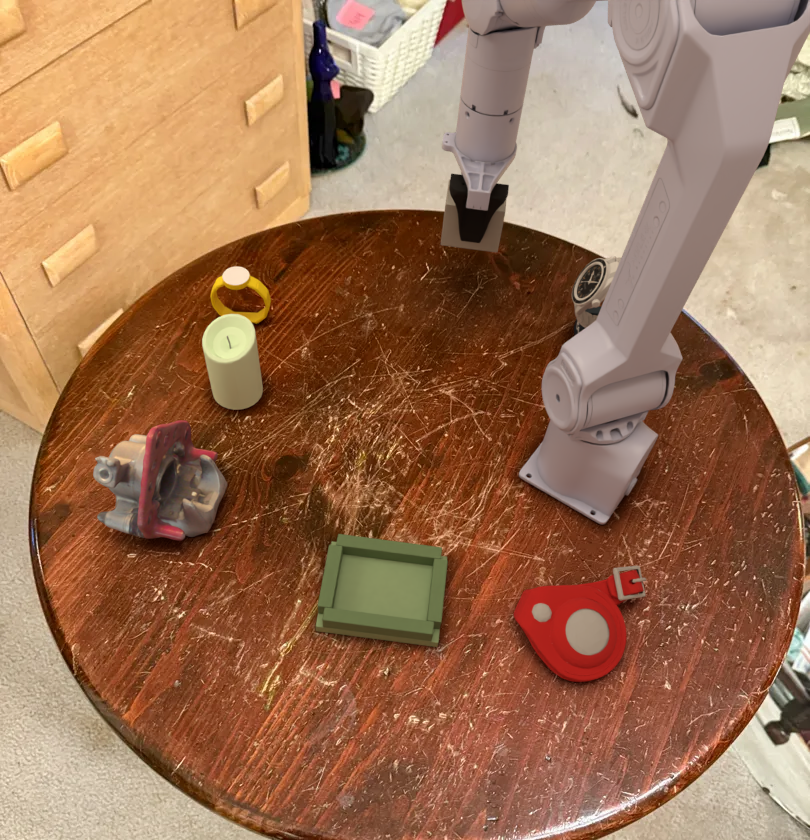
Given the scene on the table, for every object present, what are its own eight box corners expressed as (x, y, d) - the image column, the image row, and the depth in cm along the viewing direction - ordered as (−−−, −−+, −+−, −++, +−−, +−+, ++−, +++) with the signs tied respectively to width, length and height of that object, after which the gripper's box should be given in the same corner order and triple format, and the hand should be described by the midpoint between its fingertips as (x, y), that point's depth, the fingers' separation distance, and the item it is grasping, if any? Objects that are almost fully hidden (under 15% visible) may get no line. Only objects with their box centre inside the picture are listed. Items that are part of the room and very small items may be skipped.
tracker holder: (616, 700, 66) (509, 646, 66) (594, 701, 71) (492, 650, 70) (665, 569, 70) (563, 516, 69) (641, 578, 74) (545, 528, 73)
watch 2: (274, 312, 88) (269, 268, 83) (270, 331, 86) (265, 287, 81) (218, 307, 88) (210, 262, 82) (213, 325, 86) (205, 282, 81)
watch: (555, 324, 89) (580, 242, 80) (628, 330, 90) (661, 249, 80) (558, 363, 87) (584, 282, 77) (633, 369, 87) (668, 289, 77)
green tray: (446, 561, 73) (449, 547, 71) (437, 647, 69) (440, 635, 67) (331, 546, 73) (331, 532, 71) (315, 631, 69) (314, 618, 67)
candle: (242, 418, 80) (232, 360, 73) (202, 396, 81) (188, 336, 74) (273, 386, 82) (266, 327, 75) (233, 365, 84) (222, 304, 77)
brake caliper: (224, 560, 69) (114, 479, 61) (142, 576, 75) (33, 504, 68) (263, 456, 75) (167, 369, 67) (184, 478, 81) (88, 401, 73)
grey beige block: (499, 227, 87) (507, 186, 83) (497, 252, 85) (505, 211, 81) (444, 220, 87) (448, 178, 83) (440, 245, 85) (445, 204, 81)
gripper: (454, 48, 77) (440, 176, 89) (440, 140, 69) (426, 267, 81) (529, 57, 77) (505, 185, 89) (522, 150, 69) (497, 276, 81)
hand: (472, 225), depth 85 cm, fingers closed on grey beige block, 4 cm apart
